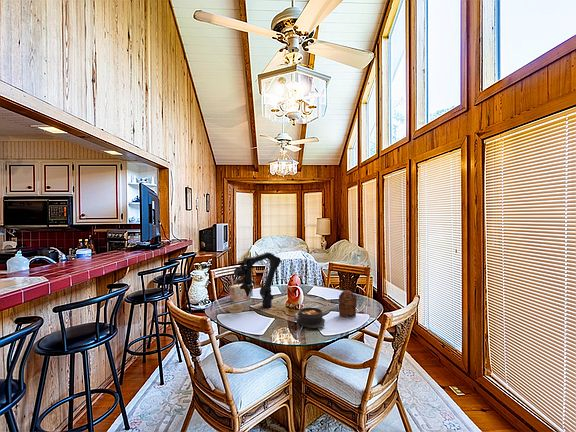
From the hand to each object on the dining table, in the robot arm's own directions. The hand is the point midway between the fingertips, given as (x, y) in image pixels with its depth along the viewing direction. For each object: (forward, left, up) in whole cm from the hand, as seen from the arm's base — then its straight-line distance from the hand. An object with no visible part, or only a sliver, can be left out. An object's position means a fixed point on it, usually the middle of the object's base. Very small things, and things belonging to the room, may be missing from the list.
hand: (248, 296), depth 228 cm
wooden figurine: (-72, -1, -12) cm, 73 cm away
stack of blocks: (+16, -31, -12) cm, 37 cm away
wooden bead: (+10, 0, -11) cm, 15 cm away
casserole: (-48, +17, -12) cm, 52 cm away
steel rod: (0, 0, -3) cm, 2 cm away
